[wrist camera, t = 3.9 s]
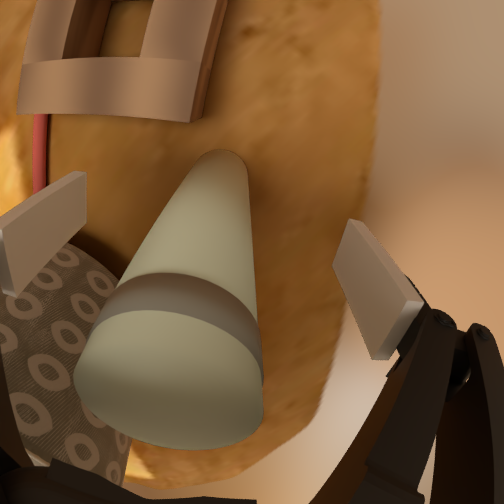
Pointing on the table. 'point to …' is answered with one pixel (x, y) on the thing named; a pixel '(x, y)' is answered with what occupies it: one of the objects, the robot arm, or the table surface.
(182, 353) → the banded green cylinder
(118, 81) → the square wooden socket block
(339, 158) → the table surface
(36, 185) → the red rod
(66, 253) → the planter
